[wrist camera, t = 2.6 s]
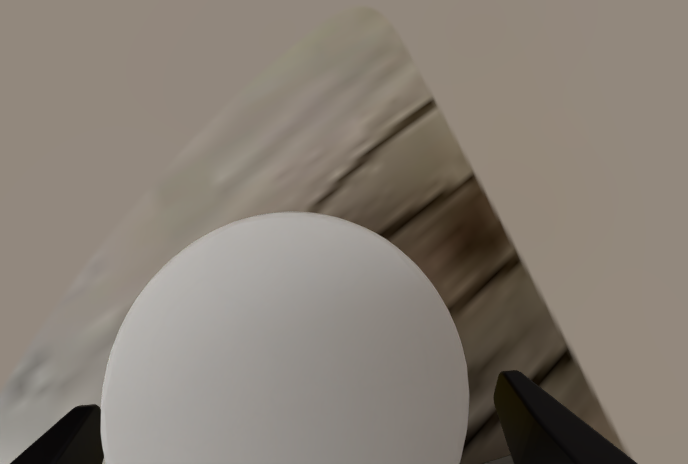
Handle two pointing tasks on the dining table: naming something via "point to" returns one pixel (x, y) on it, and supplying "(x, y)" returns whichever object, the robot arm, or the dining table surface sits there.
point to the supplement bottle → (287, 353)
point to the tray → (502, 460)
